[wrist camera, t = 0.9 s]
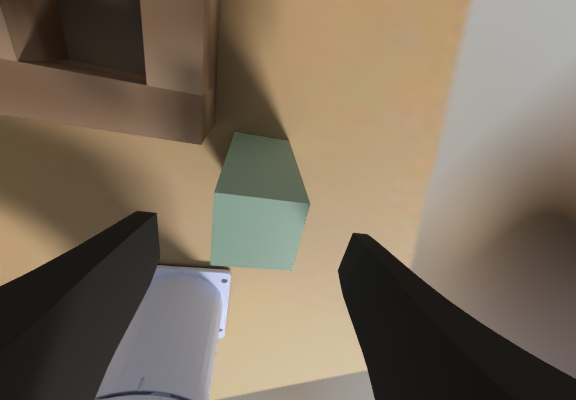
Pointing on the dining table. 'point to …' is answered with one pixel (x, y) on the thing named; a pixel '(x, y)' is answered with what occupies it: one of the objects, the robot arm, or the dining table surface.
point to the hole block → (112, 64)
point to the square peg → (258, 205)
